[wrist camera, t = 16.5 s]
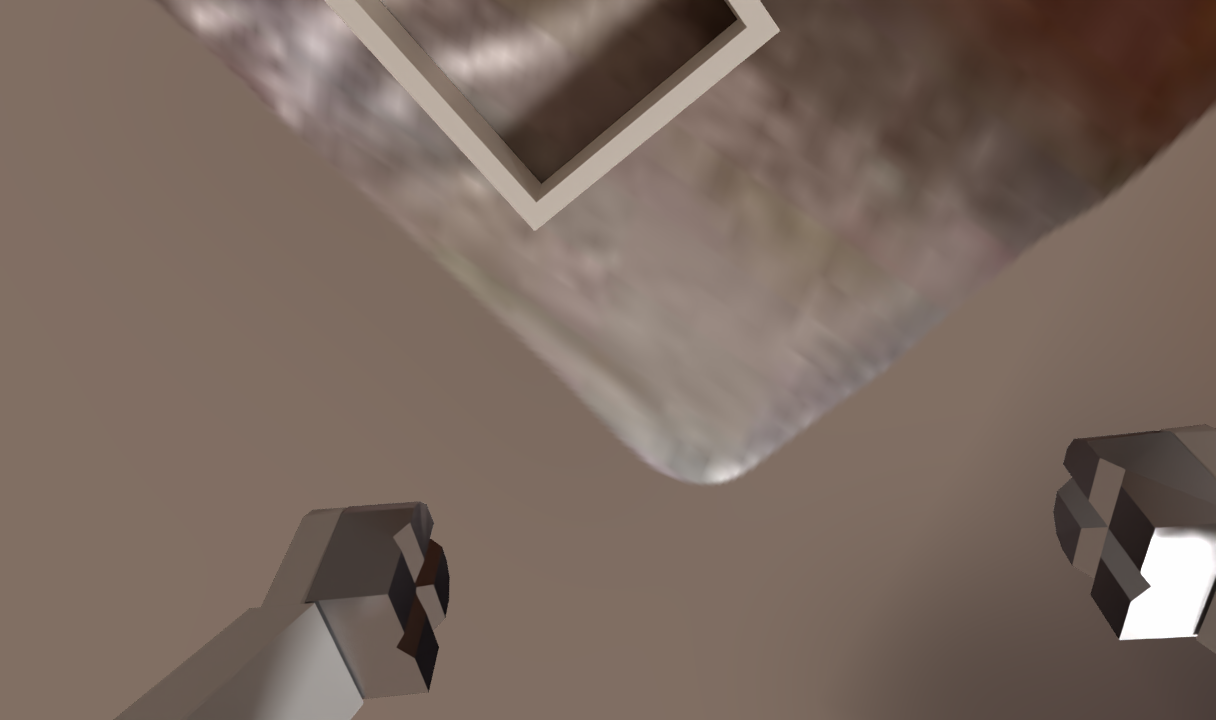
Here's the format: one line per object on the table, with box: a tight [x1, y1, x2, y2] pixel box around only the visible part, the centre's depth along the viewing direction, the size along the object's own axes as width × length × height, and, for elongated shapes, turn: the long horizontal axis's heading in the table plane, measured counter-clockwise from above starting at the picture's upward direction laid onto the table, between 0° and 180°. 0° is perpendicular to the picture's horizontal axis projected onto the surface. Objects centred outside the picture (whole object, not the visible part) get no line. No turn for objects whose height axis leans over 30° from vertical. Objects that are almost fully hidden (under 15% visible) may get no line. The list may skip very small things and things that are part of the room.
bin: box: [324, 0, 780, 231], centre depth 35 cm, size 14×14×3 cm
